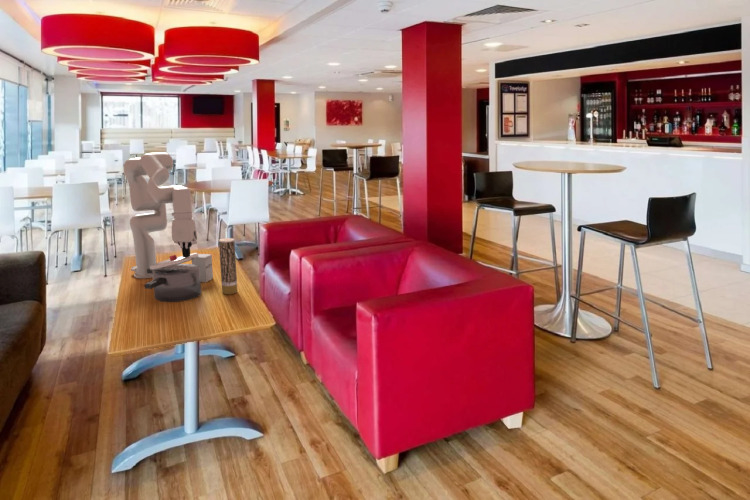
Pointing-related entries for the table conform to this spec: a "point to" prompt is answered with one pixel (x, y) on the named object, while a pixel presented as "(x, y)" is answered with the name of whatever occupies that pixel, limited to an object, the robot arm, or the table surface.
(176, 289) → the pressure cooker pot
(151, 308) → the table surface
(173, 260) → the cooker lid
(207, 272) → the supplement box
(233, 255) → the brown cylindrical piece
